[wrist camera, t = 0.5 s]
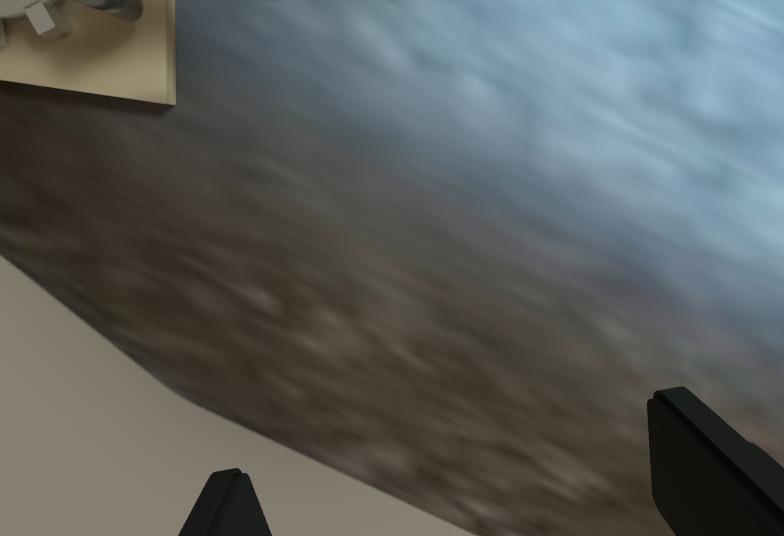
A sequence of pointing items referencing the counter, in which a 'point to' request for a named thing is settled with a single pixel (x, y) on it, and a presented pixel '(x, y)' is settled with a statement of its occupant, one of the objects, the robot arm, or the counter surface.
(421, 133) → the counter surface
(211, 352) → the counter surface
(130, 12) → the sprocket
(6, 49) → the sprocket plate
